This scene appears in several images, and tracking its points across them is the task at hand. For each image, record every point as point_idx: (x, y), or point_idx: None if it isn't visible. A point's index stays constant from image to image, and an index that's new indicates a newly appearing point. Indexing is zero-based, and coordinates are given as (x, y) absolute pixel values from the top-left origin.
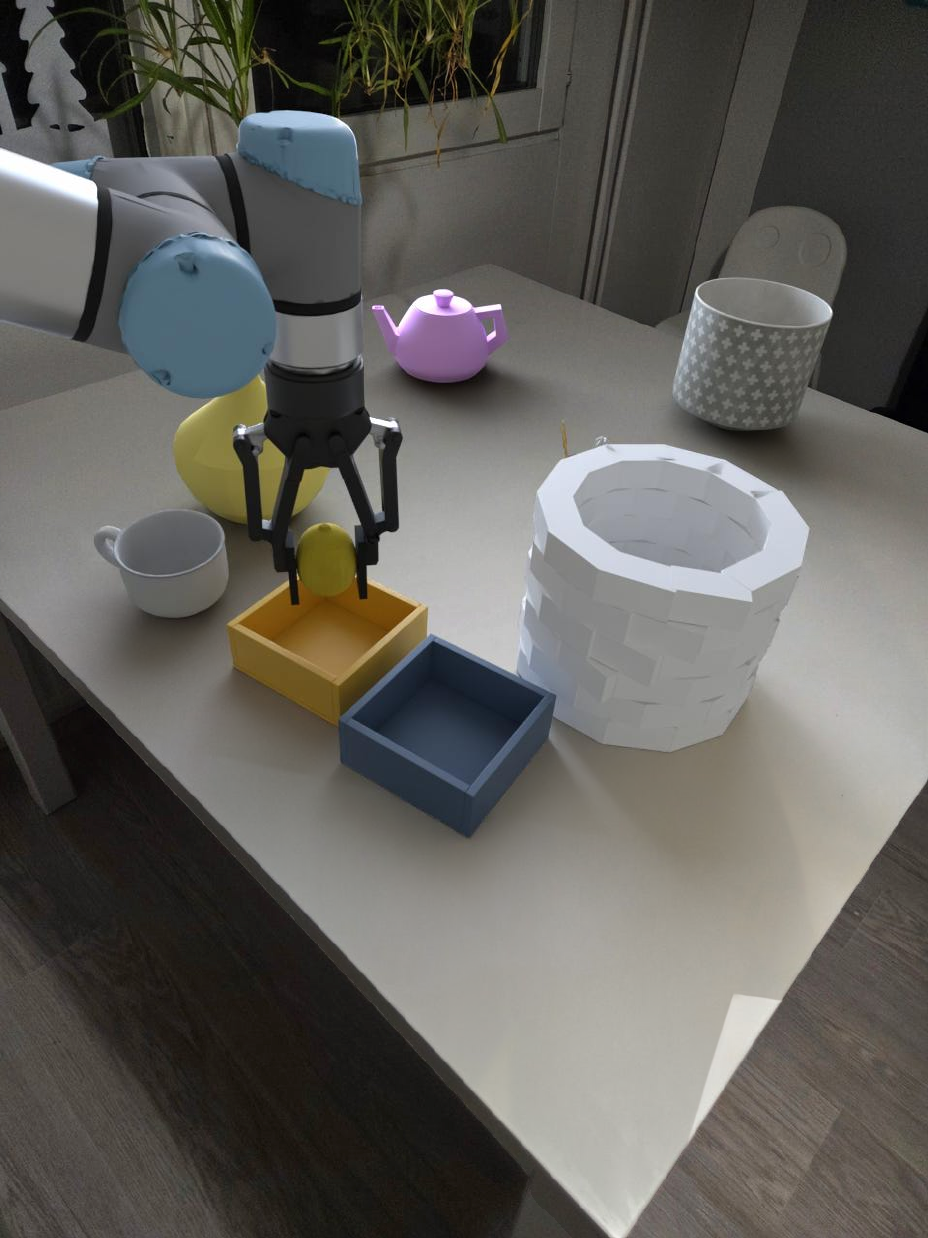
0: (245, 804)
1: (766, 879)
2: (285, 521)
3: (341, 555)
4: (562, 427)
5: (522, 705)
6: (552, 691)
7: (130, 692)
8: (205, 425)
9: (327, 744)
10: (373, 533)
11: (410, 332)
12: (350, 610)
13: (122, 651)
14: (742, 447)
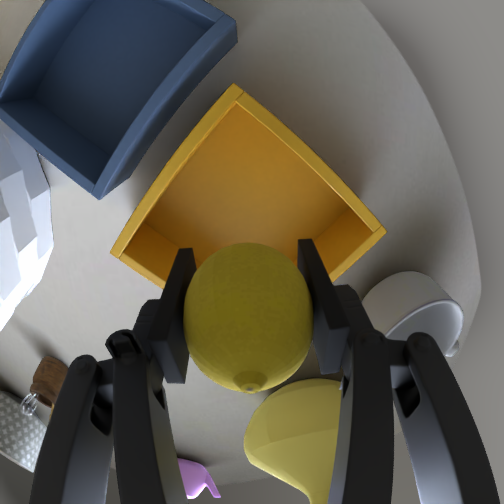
0: (342, 10)
1: None
2: (366, 393)
3: (207, 309)
4: None
5: (27, 110)
6: (7, 137)
7: (443, 182)
8: None
9: (253, 68)
10: (123, 357)
11: (196, 485)
12: None
13: (442, 235)
14: (6, 384)
